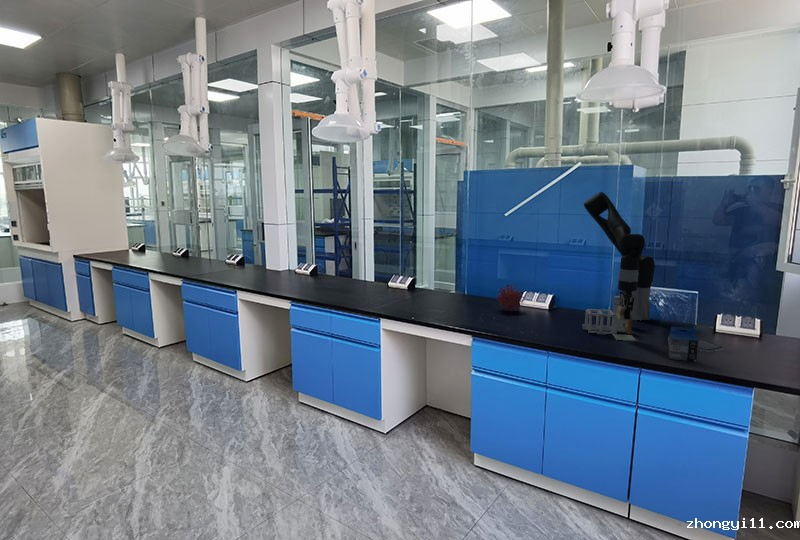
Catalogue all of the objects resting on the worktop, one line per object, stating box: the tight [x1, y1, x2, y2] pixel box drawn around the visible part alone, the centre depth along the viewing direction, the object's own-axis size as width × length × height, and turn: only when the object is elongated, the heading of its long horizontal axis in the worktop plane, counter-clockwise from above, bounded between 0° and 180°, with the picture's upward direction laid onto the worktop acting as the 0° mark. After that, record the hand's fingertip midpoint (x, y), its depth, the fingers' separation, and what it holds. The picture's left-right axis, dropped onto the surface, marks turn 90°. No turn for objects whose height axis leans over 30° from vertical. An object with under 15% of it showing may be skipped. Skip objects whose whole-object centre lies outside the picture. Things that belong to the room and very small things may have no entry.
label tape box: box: [667, 326, 699, 362], centre depth 173 cm, size 9×4×12 cm, turn 69°
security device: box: [667, 335, 724, 353], centre depth 191 cm, size 17×22×2 cm
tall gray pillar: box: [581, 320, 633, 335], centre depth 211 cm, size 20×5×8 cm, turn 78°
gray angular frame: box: [584, 308, 618, 335], centre depth 211 cm, size 12×10×10 cm
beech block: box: [617, 306, 633, 321], centre depth 200 cm, size 5×5×5 cm
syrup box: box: [612, 295, 629, 326], centre depth 222 cm, size 6×6×14 cm
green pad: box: [611, 333, 637, 342], centre depth 201 cm, size 8×8×1 cm
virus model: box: [496, 284, 525, 313], centre depth 250 cm, size 15×15×15 cm
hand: (624, 317), depth 200 cm, fingers closed on beech block, 5 cm apart
